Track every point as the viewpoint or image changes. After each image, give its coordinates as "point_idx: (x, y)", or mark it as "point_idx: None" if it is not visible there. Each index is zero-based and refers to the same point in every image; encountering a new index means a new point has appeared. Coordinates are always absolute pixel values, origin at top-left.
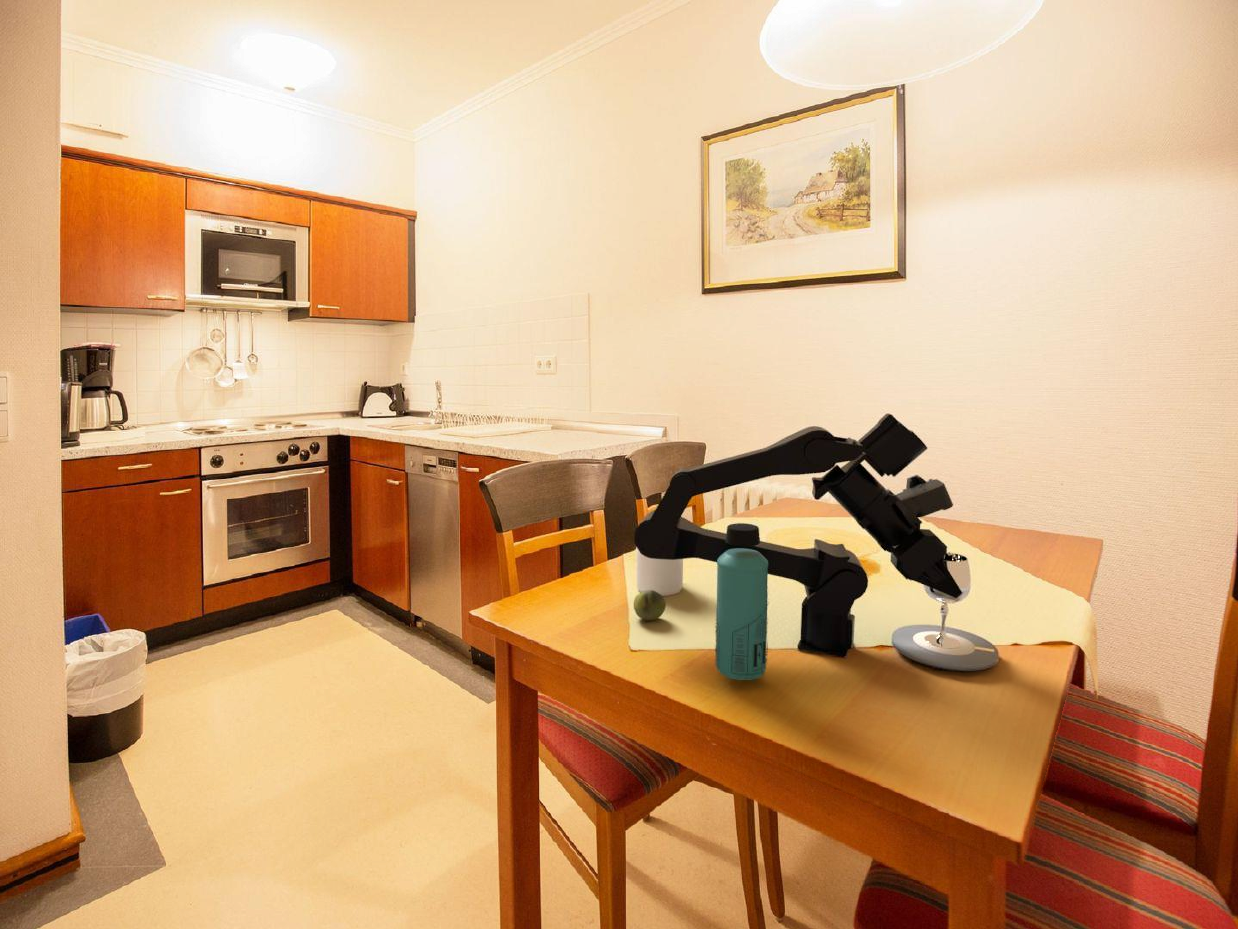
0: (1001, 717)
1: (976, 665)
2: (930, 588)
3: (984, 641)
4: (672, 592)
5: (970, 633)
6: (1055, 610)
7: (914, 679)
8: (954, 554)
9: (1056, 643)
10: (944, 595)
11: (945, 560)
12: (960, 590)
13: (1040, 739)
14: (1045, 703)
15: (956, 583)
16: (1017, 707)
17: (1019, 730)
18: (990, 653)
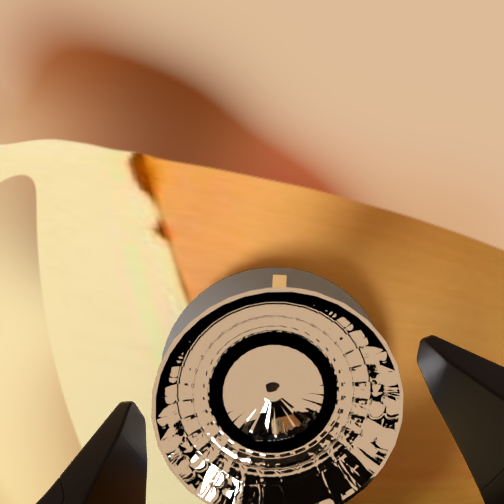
0: (472, 288)
1: (366, 316)
2: (336, 451)
3: (226, 288)
4: None
5: (185, 312)
6: (25, 166)
7: (411, 421)
8: (165, 361)
9: (141, 171)
10: (354, 398)
11: (162, 405)
12: (443, 340)
13: (493, 249)
14: (403, 224)
15: (472, 353)
16: (436, 264)
17: (489, 269)
18: (294, 283)
